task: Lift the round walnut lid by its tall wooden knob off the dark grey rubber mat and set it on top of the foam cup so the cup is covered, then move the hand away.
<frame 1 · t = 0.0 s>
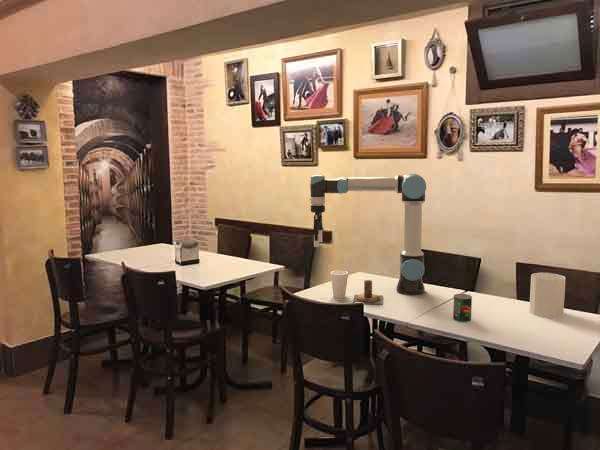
hand: (318, 244, 271), 28 cm above the table, tool pointing down, fingers open, 13 cm apart
foam cup: (339, 296, 272), on the table
mat: (368, 300, 264), on the table
lid: (368, 299, 264), point 1 cm above the table, touching mat
container: (545, 313, 239), on the table
canned tomato: (462, 319, 232), on the table
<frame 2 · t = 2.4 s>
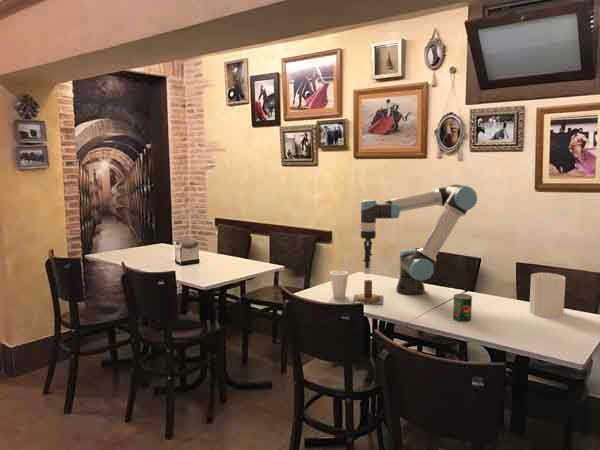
hand: (367, 271, 262), 16 cm above the table, tool pointing down, fingers open, 13 cm apart
nothing on the table moved.
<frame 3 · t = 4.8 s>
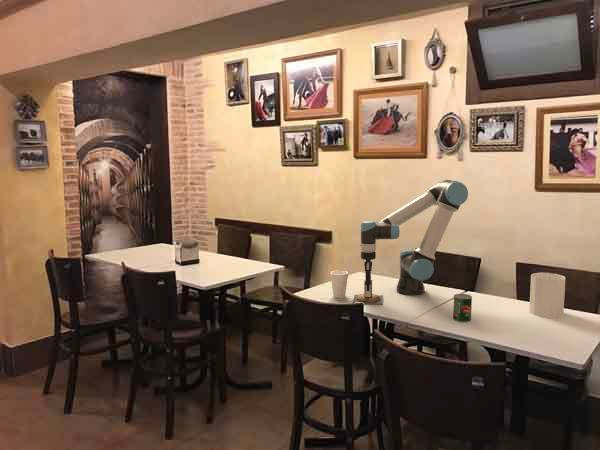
hand: (368, 295, 264), 3 cm above the table, tool pointing down, fingers closed on lid, 4 cm apart
lid: (368, 299, 264), point 1 cm above the table, touching gripper
everything else where it was.
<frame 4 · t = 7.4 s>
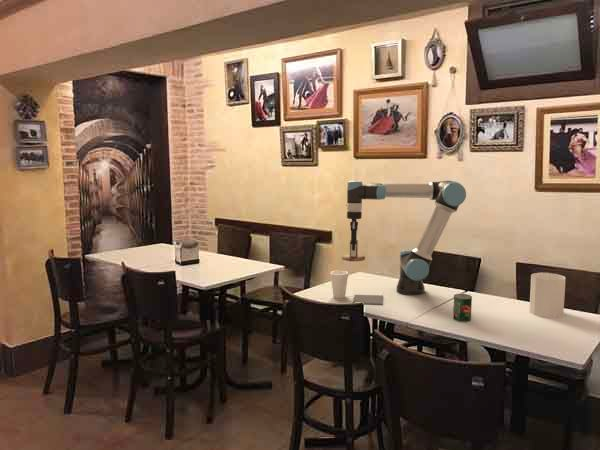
hand: (353, 255, 265), 23 cm above the table, tool pointing down, fingers closed on lid, 4 cm apart
lid: (353, 258, 265), point 21 cm above the table, touching gripper
everything else where it was.
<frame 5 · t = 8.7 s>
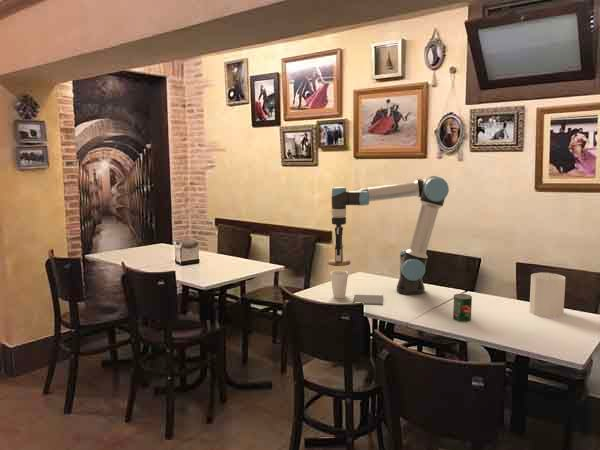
hand: (338, 260, 270), 20 cm above the table, tool pointing down, fingers closed on lid, 4 cm apart
lid: (338, 263, 270), point 18 cm above the table, touching gripper
everything else where it was.
when the fingers open (16 cm above the table, at t = 10.0 s): lid drops 2 cm, resting on foam cup.
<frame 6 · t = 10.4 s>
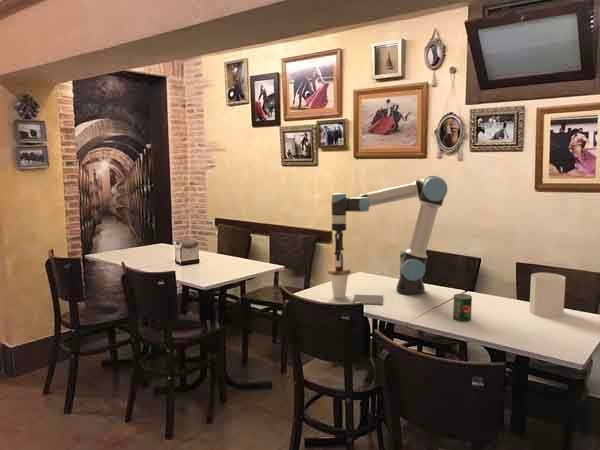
hand: (339, 264, 270), 17 cm above the table, tool pointing down, fingers open, 10 cm apart
foam cup: (339, 296, 272), on the table, touching lid
lid: (339, 272, 270), point 13 cm above the table, touching foam cup
everything else where it was.
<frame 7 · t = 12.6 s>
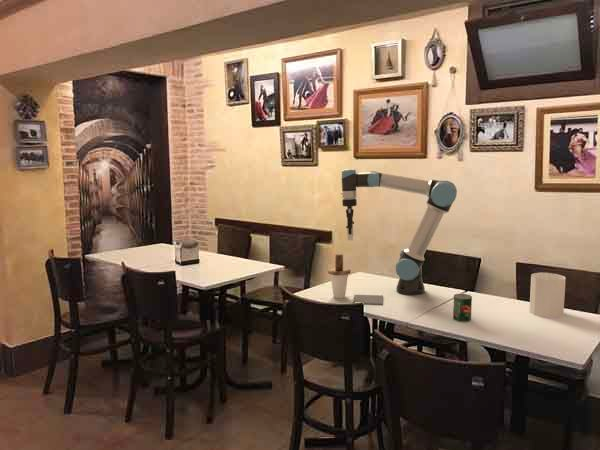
hand: (350, 238, 272), 31 cm above the table, tool pointing down, fingers open, 13 cm apart
nothing on the table moved.
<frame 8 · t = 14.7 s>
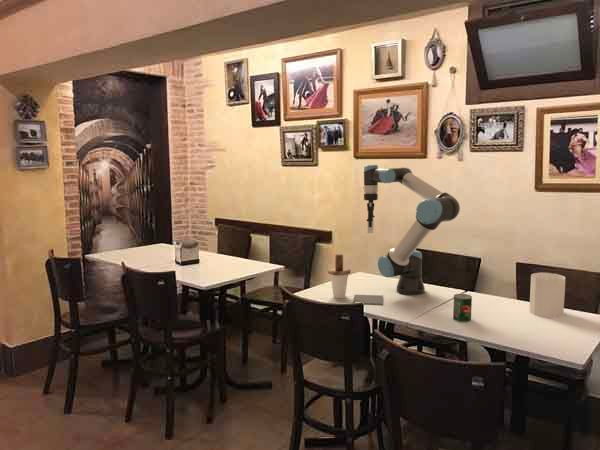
hand: (370, 231, 283), 33 cm above the table, tool pointing down, fingers open, 13 cm apart
nothing on the table moved.
at the end: lid 0.0 cm off-centre on the foam cup, point 13.2 cm above the foam cup's base; foam cup tilted 0°; the gripper is holding nothing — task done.
